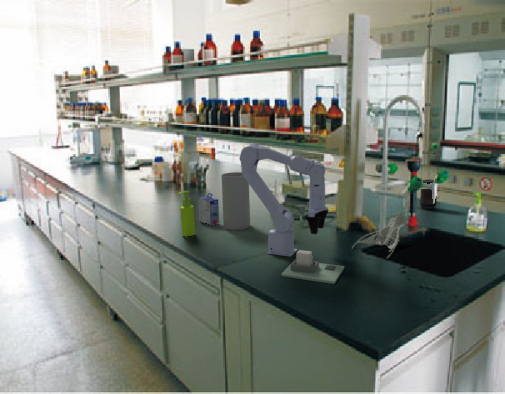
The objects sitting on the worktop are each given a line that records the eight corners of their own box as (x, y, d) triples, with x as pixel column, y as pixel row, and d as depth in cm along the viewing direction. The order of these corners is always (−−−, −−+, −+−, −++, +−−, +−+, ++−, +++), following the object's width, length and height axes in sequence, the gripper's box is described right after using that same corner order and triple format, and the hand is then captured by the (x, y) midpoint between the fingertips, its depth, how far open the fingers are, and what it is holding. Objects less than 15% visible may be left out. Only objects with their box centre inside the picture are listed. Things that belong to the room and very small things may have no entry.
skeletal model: (350, 249, 169) (376, 199, 178) (359, 262, 174) (384, 212, 183) (387, 258, 157) (413, 204, 166) (395, 271, 163) (420, 218, 172)
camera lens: (417, 207, 230) (418, 179, 227) (432, 206, 230) (434, 179, 227) (422, 210, 222) (424, 182, 219) (438, 210, 222) (440, 181, 219)
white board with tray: (281, 276, 145) (281, 268, 144) (294, 261, 157) (294, 254, 157) (334, 284, 138) (334, 275, 137) (344, 268, 150) (344, 260, 149)
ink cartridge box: (220, 223, 209) (218, 194, 206) (210, 226, 206) (209, 196, 203) (208, 219, 217) (206, 191, 214) (199, 222, 213) (197, 193, 210)
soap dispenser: (177, 236, 192) (174, 191, 187) (189, 232, 197) (186, 189, 192) (185, 238, 188) (182, 193, 183) (197, 234, 193) (195, 190, 188)
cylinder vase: (234, 232, 194) (232, 177, 189) (218, 227, 204) (215, 174, 198) (255, 227, 202) (254, 174, 197) (239, 221, 212) (237, 171, 206)
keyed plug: (296, 269, 148) (296, 252, 147) (299, 266, 151) (299, 249, 150) (310, 271, 146) (310, 254, 145) (313, 268, 149) (313, 251, 147)
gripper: (322, 200, 151) (321, 237, 154) (333, 192, 164) (332, 226, 167) (302, 199, 154) (303, 235, 157) (315, 191, 167) (315, 225, 170)
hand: (317, 230), depth 162 cm, fingers open, 7 cm apart
